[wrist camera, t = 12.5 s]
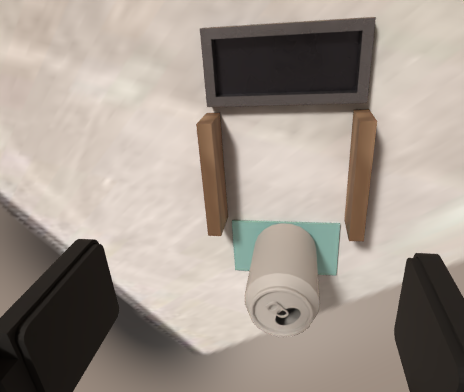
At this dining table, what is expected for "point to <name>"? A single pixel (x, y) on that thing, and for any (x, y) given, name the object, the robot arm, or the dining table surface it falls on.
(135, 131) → the dining table surface
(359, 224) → the wooden corridor walls
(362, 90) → the tray
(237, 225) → the pad
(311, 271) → the can
